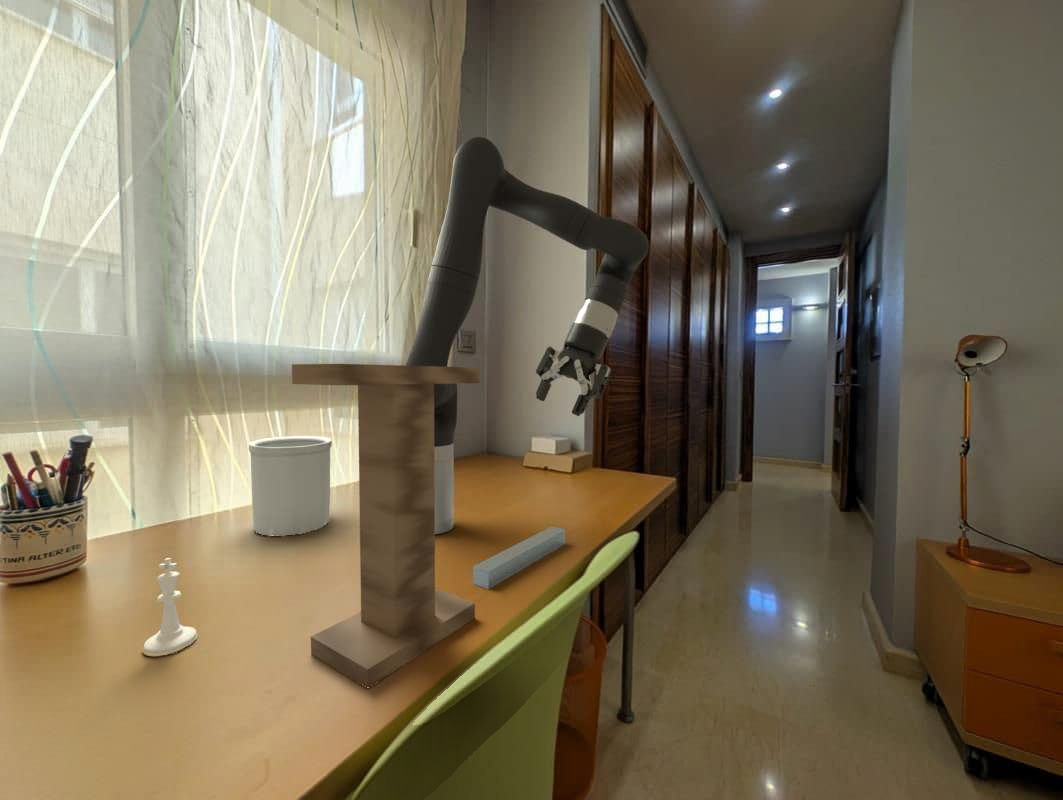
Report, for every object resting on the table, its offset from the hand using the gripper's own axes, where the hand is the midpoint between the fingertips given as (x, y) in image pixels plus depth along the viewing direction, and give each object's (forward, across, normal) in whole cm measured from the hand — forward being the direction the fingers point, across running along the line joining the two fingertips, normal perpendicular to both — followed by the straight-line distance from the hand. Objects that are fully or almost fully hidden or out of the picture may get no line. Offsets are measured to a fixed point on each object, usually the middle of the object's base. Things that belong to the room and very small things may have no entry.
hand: (557, 407), depth 86 cm
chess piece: (+44, -7, -45) cm, 63 cm away
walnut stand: (+34, +11, -30) cm, 46 cm away
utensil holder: (+44, -37, -15) cm, 59 cm away
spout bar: (+26, +9, -5) cm, 29 cm away
